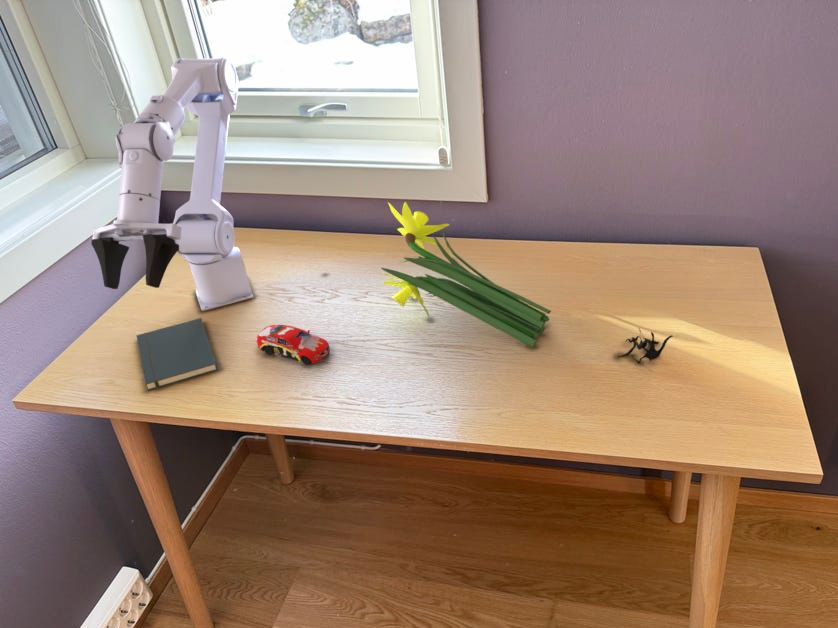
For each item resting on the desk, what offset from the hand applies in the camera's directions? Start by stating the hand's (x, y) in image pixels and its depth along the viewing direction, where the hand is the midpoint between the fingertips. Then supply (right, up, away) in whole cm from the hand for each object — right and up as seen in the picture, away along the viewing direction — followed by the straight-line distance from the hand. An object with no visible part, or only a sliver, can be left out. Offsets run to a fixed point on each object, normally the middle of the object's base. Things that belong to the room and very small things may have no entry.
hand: (131, 287), depth 115 cm
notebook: (+1, -10, +14) cm, 17 cm away
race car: (+21, -10, +13) cm, 27 cm away
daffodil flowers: (+50, -3, +20) cm, 54 cm away
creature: (+78, -10, +7) cm, 79 cm away
